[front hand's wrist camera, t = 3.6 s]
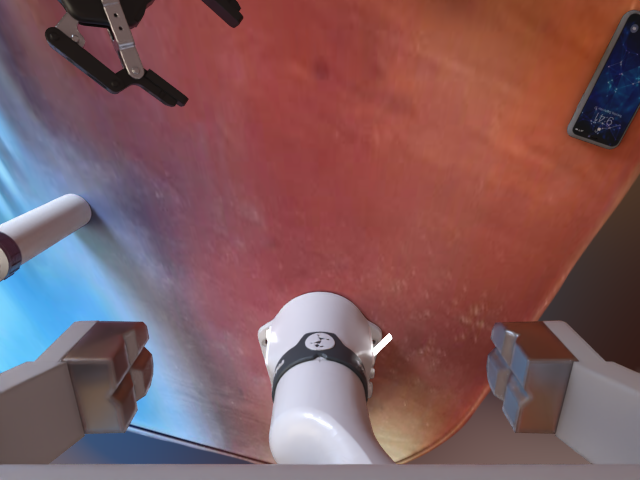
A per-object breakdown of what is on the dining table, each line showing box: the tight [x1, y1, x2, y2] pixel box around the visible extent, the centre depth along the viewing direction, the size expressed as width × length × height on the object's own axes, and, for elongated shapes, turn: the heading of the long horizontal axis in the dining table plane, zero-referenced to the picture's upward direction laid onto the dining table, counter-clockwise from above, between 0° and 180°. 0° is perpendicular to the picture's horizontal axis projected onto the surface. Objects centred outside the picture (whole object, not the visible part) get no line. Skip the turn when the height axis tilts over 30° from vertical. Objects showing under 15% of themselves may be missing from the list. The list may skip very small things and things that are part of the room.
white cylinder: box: [0, 194, 91, 265], centre depth 51 cm, size 5×5×17 cm
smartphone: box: [567, 10, 640, 149], centre depth 53 cm, size 7×1×15 cm
